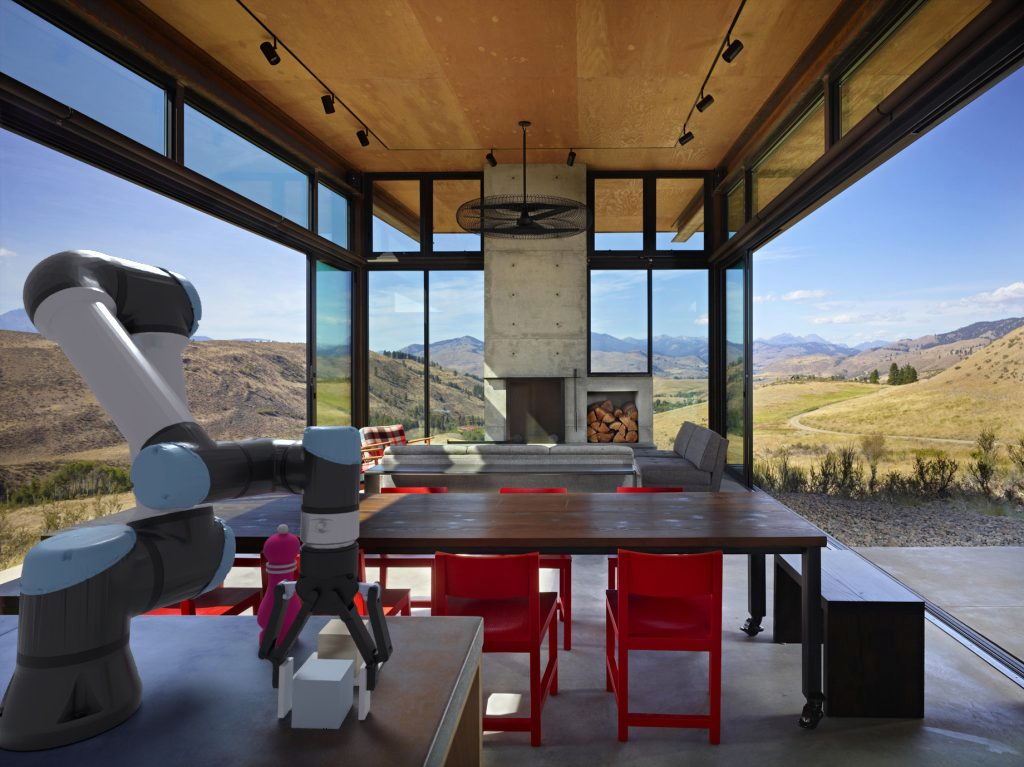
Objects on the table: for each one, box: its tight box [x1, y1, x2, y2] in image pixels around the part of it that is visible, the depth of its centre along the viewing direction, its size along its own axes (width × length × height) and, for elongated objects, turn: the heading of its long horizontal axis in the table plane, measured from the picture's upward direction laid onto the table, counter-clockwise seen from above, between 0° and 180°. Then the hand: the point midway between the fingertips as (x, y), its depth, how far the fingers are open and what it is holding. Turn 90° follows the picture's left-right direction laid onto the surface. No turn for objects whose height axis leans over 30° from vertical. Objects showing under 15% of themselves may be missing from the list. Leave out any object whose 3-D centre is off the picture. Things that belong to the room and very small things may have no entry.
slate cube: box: [290, 659, 354, 730], centre depth 74 cm, size 6×6×6 cm
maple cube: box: [317, 618, 370, 676], centre depth 87 cm, size 6×6×6 cm
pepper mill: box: [256, 523, 302, 647], centre depth 98 cm, size 7×7×20 cm
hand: (324, 713), depth 74 cm, fingers open, 10 cm apart
